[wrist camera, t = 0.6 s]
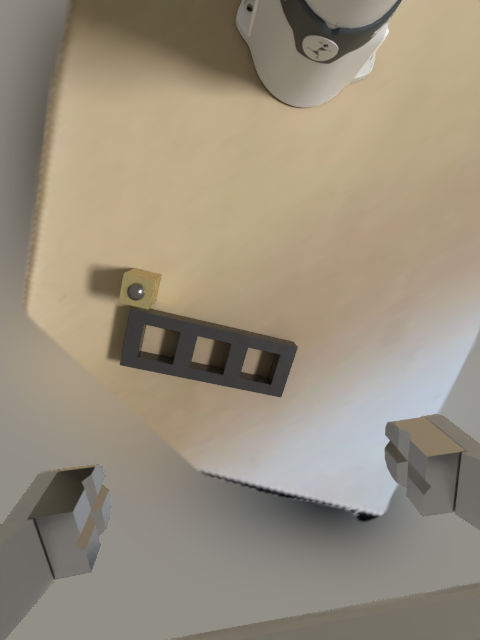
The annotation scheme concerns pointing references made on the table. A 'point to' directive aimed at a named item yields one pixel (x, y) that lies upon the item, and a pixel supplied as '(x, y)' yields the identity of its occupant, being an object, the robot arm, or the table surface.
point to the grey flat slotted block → (200, 372)
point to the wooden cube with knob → (139, 288)
